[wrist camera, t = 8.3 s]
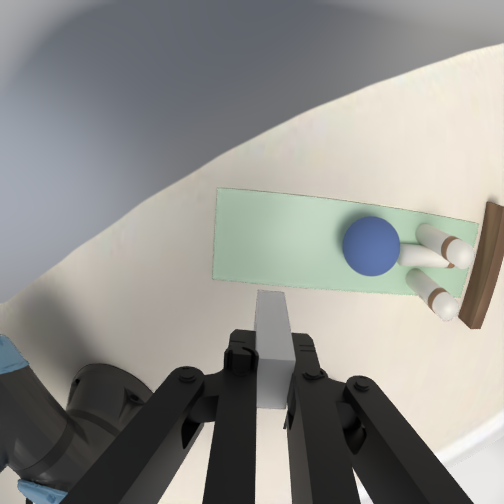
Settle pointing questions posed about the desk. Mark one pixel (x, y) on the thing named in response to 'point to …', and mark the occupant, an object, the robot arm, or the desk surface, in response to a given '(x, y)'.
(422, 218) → the lane mark
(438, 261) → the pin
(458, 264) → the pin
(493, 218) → the backstop
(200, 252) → the desk surface
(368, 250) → the ball
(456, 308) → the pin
